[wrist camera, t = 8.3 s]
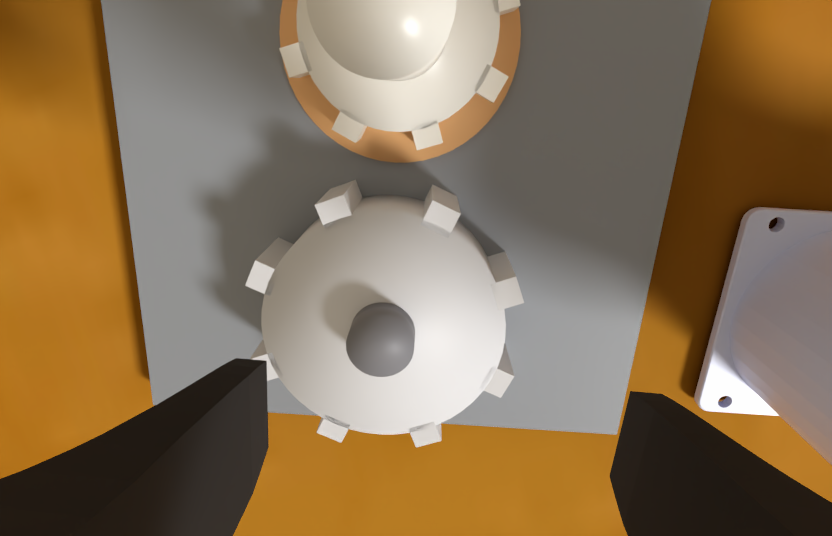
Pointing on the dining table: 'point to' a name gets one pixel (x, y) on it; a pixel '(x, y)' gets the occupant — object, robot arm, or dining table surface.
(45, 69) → the dining table surface
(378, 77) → the planet gear
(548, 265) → the plate
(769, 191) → the dining table surface
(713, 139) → the dining table surface
